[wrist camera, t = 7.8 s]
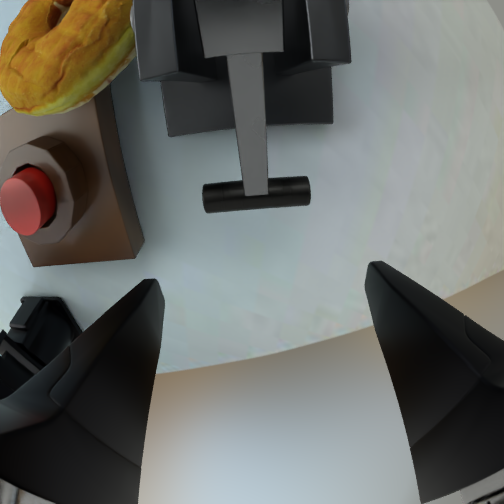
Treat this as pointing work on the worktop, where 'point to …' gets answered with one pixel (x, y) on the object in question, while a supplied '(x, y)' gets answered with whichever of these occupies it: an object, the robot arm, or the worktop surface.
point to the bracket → (215, 68)
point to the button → (28, 200)
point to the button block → (75, 182)
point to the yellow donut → (64, 53)
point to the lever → (247, 100)
